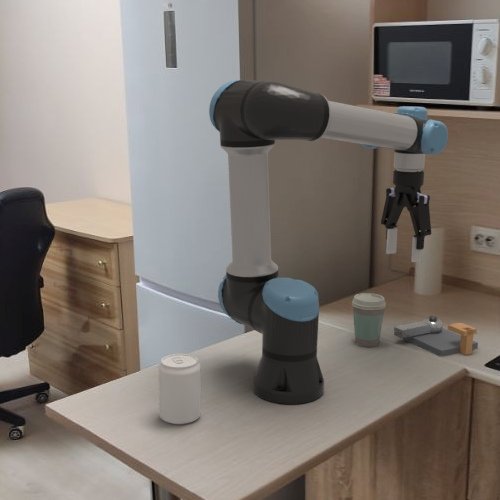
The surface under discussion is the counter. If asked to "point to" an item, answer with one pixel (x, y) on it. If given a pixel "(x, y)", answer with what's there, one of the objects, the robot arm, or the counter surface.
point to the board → (439, 342)
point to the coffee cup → (368, 318)
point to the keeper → (464, 336)
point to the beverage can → (179, 389)
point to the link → (419, 327)
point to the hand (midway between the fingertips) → (403, 257)
